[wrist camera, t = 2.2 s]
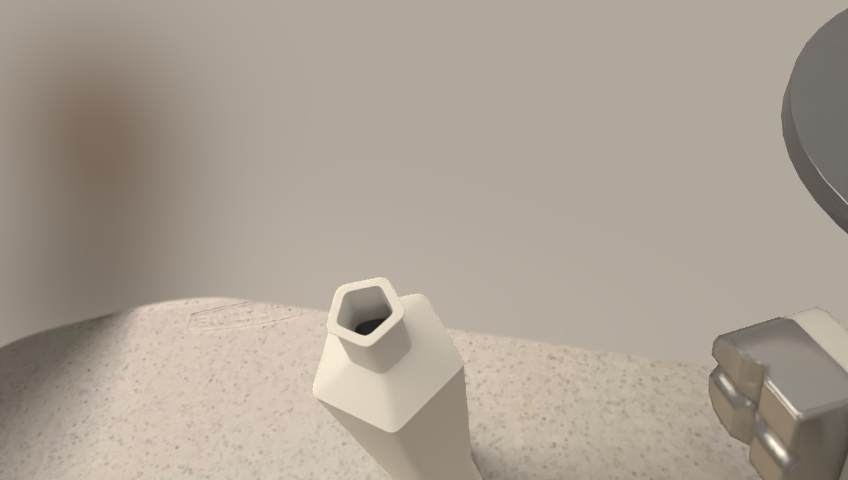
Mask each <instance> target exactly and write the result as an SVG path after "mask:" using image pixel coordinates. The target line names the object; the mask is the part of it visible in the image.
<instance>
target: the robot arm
mask: <svg viewBox="0 0 848 480" xmlns="http://www.w3.org/2000/svg"><path fill="white" fill-rule="evenodd" d="M712 356H713V357H714V358H715V359H716V361H717V362H718V363H719V364H718V365H717V367H716V368H715V369H714V370H713V371H712V373H711V374H710V375H709V395H710V398H711V402H712V405H713V409H714V411H715V413H716V414H717V416H718V418H719V420H720V422H721V424H722V425H723V426H724V428H725V429H726V431H727V432H728V433H729V435H730V436H731V437H733V438H735V439H737V440H739V441H741V442H743V443H745V444H747V445H749V446H750V450H749V462H750V464H751V465H752V466H753V468H754V469H755V470H756V472H757V473H758V474H759V476H760V477H761V478H762V480H848V329H846V328H845V327H844V326H843V325H842V324H841V323H840V322H839V321H837V320H836V319H835V318H834V317H833V316H832V315H831V314H830V313H829V312H827V311H826V310H823V309H821V308H818V307H815V308H812V309H808V310H804V311H801V312H798V313H794V314H791V315H788V316H784V317H782V318H780V317H778V318H775V319H771V320H768V321H765V322H762V323H758V324H755V325H752V326H749V327H745V328H742V329H739V330H736V331H732V332H729V333H726V334H723V335H719V336H718V337H717V338H716V340H715V341H714V342H713V348H712Z"/></svg>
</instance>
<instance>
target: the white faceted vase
mask: <svg viewBox="0 0 848 480" xmlns="http://www.w3.org/2000/svg"><path fill="white" fill-rule="evenodd" d="M326 329H327V331H328V332H329V333H328V336H327V340H326V343H325V347H324V350H323V353H322V357H321V360H320V364H319V367H318V371H317V374H316V377H315V381H314V384H313V389H312V392H313V395H314V396H315V397H316V398H317V399H318V400H319V401H320V403H321V404H322V405H323V406H324V407H325V408H326V409H327V410H328V411H329V412H330V413H331V414H332V415H333V416H334V417H335V418H336V419H337V420H338V422H339V423H340V424H341V425H342V426H343V427H344V428H345V429H346V430H347V431H348V432H349V433H350V434H351V435H352V436H353V437H354V438H355V439H356V440H357V442H358V443H359V444H360V445H361V446H362V447H363V448H364V449H365V450H366V451H367V452H368V453H369V454H370V455H371V456H372V457H373V458H374V459H375V461H376V462H377V463H378V464H379V465H380V466H381V467H382V468H383V469H384V470H385V471H386V472H387V473H388V474H389V475H390V476H391V477H392V478H393V480H483V478H482V476H481V474H480V473H479V471H478V469H477V467H476V465H475V463H474V462H473V460H472V455H471V443H470V432H469V420H468V409H467V397H466V386H465V375H464V363H463V359H462V356H461V355H460V353H459V351H458V350H457V348H456V346H455V345H454V343H453V341H452V340H451V338H450V336H449V335H448V333H447V331H446V330H445V328H444V326H443V325H442V323H441V321H440V320H439V318H438V316H437V315H436V313H435V311H434V310H433V308H432V306H431V304H430V303H429V301H428V299H427V298H426V297H425V296H424V295H422V294H413V295H408V296H403V297H398V295H397V294H396V292H395V290H394V288H393V287H392V285H391V283H390V282H389V281H388V279H386V278H383V277H382V278H381V277H380V278H373V279H369V280H364V281H359V282H354V283H349V284H345V285H342V286H340V287H339V288H338V289H337V291H336V293H335V296H334V299H333V302H332V305H331V309H330V312H329V315H328V319H327V322H326Z"/></svg>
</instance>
